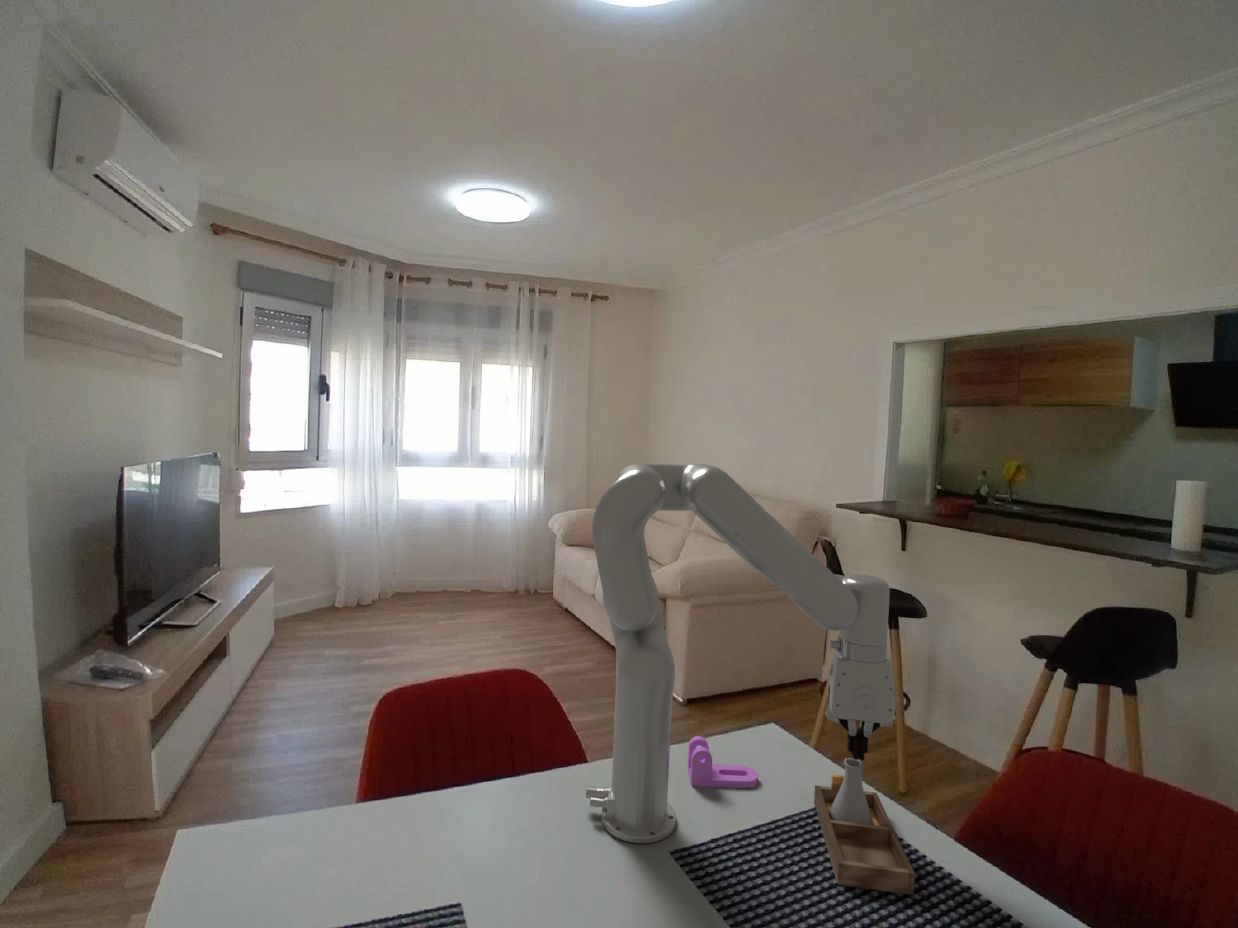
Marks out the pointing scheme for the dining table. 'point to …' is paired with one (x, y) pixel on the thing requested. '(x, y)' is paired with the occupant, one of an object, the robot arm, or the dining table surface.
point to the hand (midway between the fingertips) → (856, 755)
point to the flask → (851, 796)
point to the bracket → (715, 769)
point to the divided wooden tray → (864, 846)
